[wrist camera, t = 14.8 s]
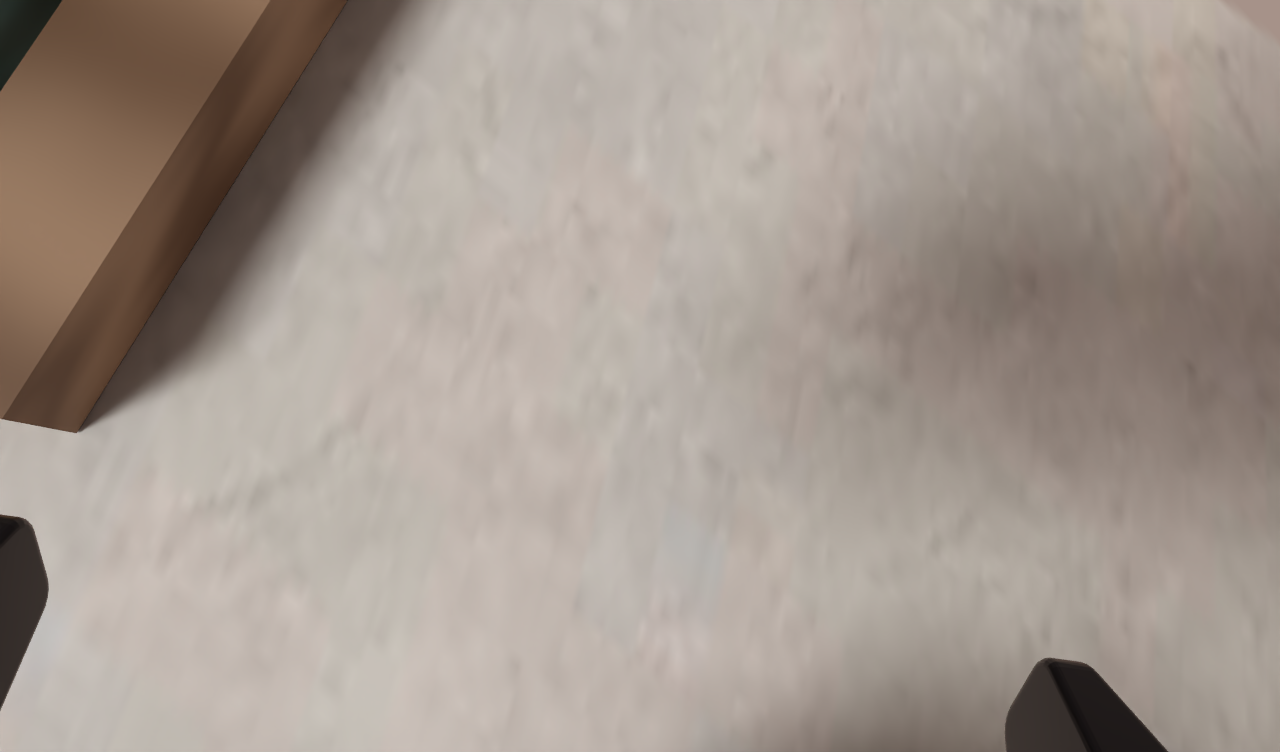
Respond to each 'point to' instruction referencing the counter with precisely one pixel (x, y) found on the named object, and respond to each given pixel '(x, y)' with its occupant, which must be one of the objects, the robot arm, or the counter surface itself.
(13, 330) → the walnut socket block
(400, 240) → the counter surface
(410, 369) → the counter surface
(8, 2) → the teal peg
